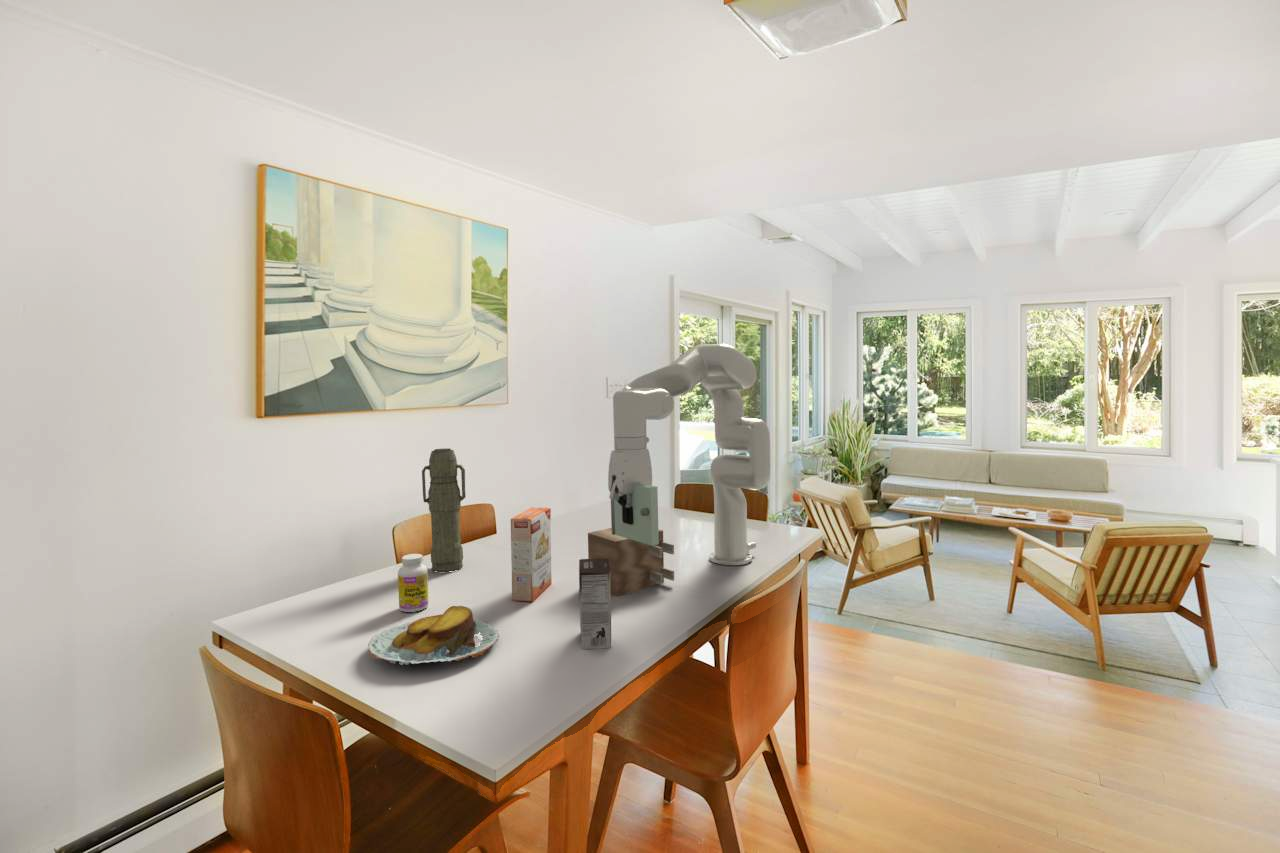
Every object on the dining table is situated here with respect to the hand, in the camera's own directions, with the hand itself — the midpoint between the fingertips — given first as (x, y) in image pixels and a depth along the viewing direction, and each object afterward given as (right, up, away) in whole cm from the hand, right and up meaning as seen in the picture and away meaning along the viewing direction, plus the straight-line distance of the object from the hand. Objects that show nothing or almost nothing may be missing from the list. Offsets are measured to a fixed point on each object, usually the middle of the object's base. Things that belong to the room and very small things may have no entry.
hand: (632, 521), depth 143 cm
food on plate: (-40, -24, -17) cm, 50 cm away
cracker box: (-26, -21, +15) cm, 36 cm away
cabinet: (0, -20, +19) cm, 27 cm away
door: (+1, -4, 0) cm, 4 cm away
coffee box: (-7, -23, -14) cm, 28 cm away
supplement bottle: (-53, -22, +5) cm, 57 cm away
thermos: (-54, -19, +36) cm, 68 cm away
